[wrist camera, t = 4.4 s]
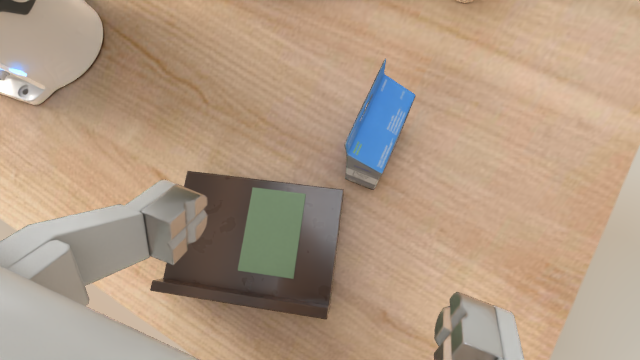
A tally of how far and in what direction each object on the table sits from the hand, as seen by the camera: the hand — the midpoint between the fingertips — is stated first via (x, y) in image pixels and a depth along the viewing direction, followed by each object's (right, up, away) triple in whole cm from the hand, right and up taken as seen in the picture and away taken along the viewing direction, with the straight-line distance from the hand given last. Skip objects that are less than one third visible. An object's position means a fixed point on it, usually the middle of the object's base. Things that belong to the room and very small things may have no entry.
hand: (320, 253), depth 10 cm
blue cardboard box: (+7, +6, +29) cm, 30 cm away
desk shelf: (-7, -5, +28) cm, 29 cm away
